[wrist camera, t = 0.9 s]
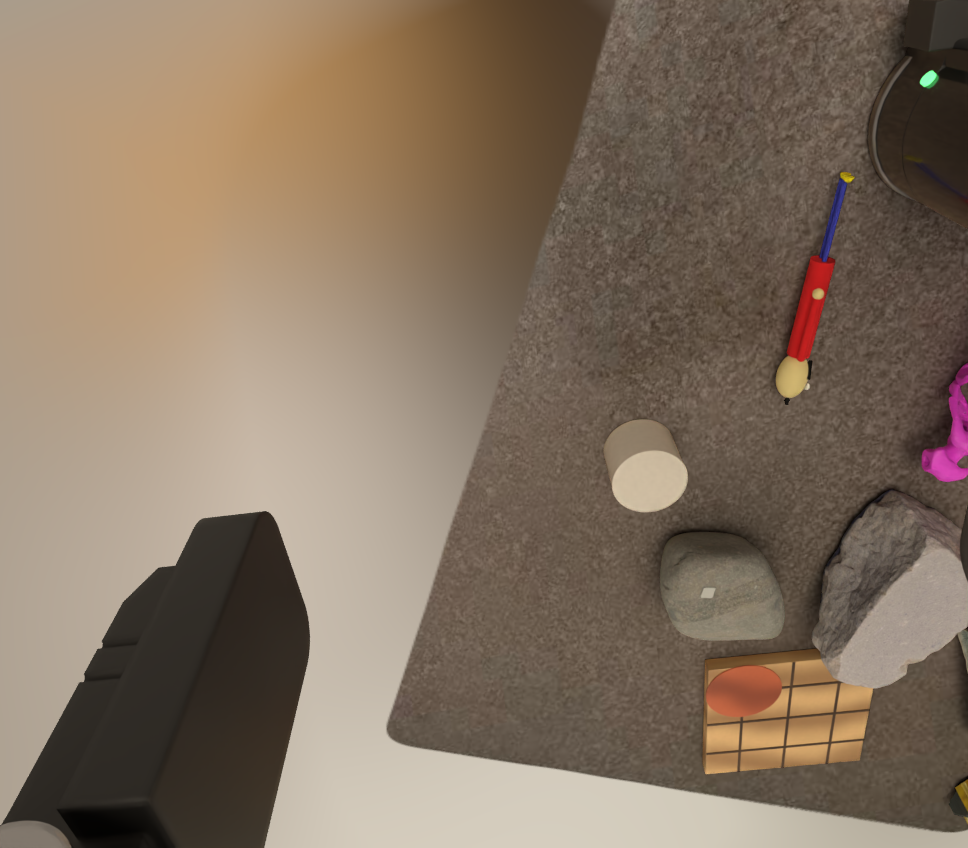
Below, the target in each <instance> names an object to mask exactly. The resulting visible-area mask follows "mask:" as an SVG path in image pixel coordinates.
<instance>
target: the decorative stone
mask: <svg viewBox="0 0 968 848" xmlns="http://www.w3.org/2000/svg"><path fill="white" fill-rule="evenodd" d="M961 533H962V530H961V529H960V528H959V527H958V526H956V525H955V524H954V523H952V522H951V521H949V520H948V519H947V518H945V517H944V516H943V515H941V514H940V513H939V512H937V511H936V510H935V509H934V508H931V507H926V506H924V505H923V504H922V503H921V502H919V501H917V500H916V499H915V498H913V497H912V496H910V495H906V494H905V493H903V492H897V491H895V490H894V489H891V490H888V491H886V492H885V493H883V494H882V495H881V496H880V497H878V498H877V499H876V500H875V501H873V502H871V503H870V504H869V505H868V506H867V507H866V508H865V509H864V510H863V511H862V512H861V513H860V514H859V515H858V516H857V517H856V518H855V519H854V520H853V521H852V524H851V525H850V527H849V528H848V530H847V532H846V533H845V534H844V536H843V538H842V540H841V543H840V545H839V548H838V549H837V551H836V552H835V553H834V555H833V556H832V557H831V559H830V560H829V562H828V563H827V564H826V567H825V569H824V571H823V577H822V578H823V583H822V585H821V587H822V588H821V589H822V594H821V601H820V603H821V605H820V609H819V621H818V622H817V624H816V626H815V628H814V629H813V632H812V642H813V644H814V645H815V647H816V648H817V649H818V650H819V651H820V654H821V660H822V662H823V663H824V665H825V666H826V668H827V669H828V671H829V672H830V674H831V675H832V677H833V678H835V679H837V680H839V681H841V682H843V683H846V684H851V685H854V686H862V687H867V688H879V687H882V686H886V685H889V684H891V683H893V682H894V681H896V680H898V679H900V678H902V677H903V676H904V675H906V674H907V667H908V664H912V663H917V662H920V661H923V660H925V658H926V657H927V656H928V655H929V654H930V653H932V652H935V651H938V650H940V649H941V648H942V647H943V646H945V645H946V644H947V643H948V642H950V641H951V640H952V639H953V638H954V637H955V636H956V635H957V633H959V632H961V631H962V630H963V629H965V628H966V627H968V581H967V579H966V576H965V573H964V571H963V567H962V563H961V557H960V538H961Z"/></svg>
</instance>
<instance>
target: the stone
mask: <svg viewBox="0 0 968 848" xmlns="http://www.w3.org/2000/svg"><path fill="white" fill-rule="evenodd" d="M660 590H661V596H662V599H663V603H664V605H665V608H666V610H667V613H668V615H669V617H670V619H671V621H672V623H673V625H674V626H675V628H676V629H677V630H678V631H680V632H681V633H682V634H684V635H687V636H689V637H692V638H696V639H702V640H750V639H772V638H774V637H776V636H778V635H779V634H780V632H781V631H782V628H783V624H784V619H785V610H784V602H783V597H782V593H781V590H780V587H779V584H778V581H777V579H776V577H775V575H774V573H773V571H772V569H771V567H770V565H769V563H768V562H767V560H766V558H765V557H764V556H763V554H762V553H761V552H760V551H759V550H758V549H757V548H756V547H755V546H754V545H752V544H751V543H750V542H749V541H747V540H746V539H744V538H742V537H739V536H736V535H732V534H727V533H719V532H689V533H684V534H679V535H676V536H674V537H672V538H671V539H670V540H669V541H668V542H667V543H666V545H665V548H664V551H663V555H662V560H661V569H660Z"/></svg>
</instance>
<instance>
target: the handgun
mask: <svg viewBox="0 0 968 848" xmlns="http://www.w3.org/2000/svg"><path fill="white" fill-rule="evenodd" d="M955 789H956V793H955V794H954V796H953V797H952V798H951V800H950V803H949V805H950V807H951V809H952V811H953V813H954V814H955V815H958V816H962V817H964V818H965V820H966V822H967V824H968V780H966V781H964V782H963V783H961V784H960V785H958V786H957V787H955Z"/></svg>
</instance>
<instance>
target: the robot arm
mask: <svg viewBox="0 0 968 848" xmlns="http://www.w3.org/2000/svg"><path fill="white" fill-rule="evenodd" d="M903 46H905V47H908V49H907V52H906V55H905V57H904V58H903V59H902V60H901V61H900V62H899V64H898V65H897V66H896V67H895V68H894V70H893V71H892V72H891V74H890V75H889V76H888V78H887V80H886V81H885V83H884V84H883V86H882V88H881V90H880V92H879V94H878V96H877V98H876V101H875V104H874V106H873V109H872V113H871V117H870V122H869V129H868V146H869V153H870V157H871V160H872V163H873V166H874V168H875V170H876V172H877V173H878V175H879V176H880V178H881V179H882V180H883V181H884V182H885V184H886V185H888V186H889V187H890V188H891V189H893V190H894V191H896V192H897V193H899V194H901V195H903V196H905V197H907V198H909V199H911V200H914V201H917V202H918V203H920V204H922V205H924V206H927V207H929V208H930V209H932V210H934V211H936V212H938V213H940V214H941V215H943V216H945V217H947V218H949V219H950V220H952V221H954V222H956V223H958V224H960V225H961V226H963V227H965V228H967V229H968V0H909V6H908V13H907V21H906V28H905V36H904V43H903ZM960 557H961V563H962V567H963V571H964V573H965V576H966V579H967V581H968V507H967V511H966V516H965V520H964V524H963V529H962V533H961V538H960ZM102 643H103V647H102V649H97V651H96V653H95V655H94V657H93V658H92V660H91V662H90V664H89V666H88V668H87V670H86V671H85V673H84V675H85V680H84V682H80V683H79V684H78V686H77V688H76V690H75V692H74V694H73V695H72V697H71V699H70V701H69V703H68V705H67V706H66V708H65V710H64V712H63V714H62V716H61V718H60V719H59V721H58V723H57V725H56V727H55V728H54V730H53V732H52V734H51V736H50V738H49V739H48V741H47V743H46V745H45V747H44V749H43V751H42V752H41V754H40V756H39V758H38V760H37V762H36V764H35V765H34V767H33V769H32V771H31V773H30V774H29V776H28V778H27V780H26V782H25V784H24V786H23V787H22V789H21V791H20V793H19V795H18V797H17V798H16V800H15V802H14V804H13V806H12V808H11V809H10V811H9V813H8V815H7V817H6V818H5V820H4V821H3V823H2V825H0V848H264V846H265V841H266V837H267V833H268V829H269V824H270V820H271V816H272V812H273V807H274V803H275V799H276V795H277V791H278V786H279V782H280V778H281V773H282V769H283V765H284V761H285V757H286V752H287V748H288V744H289V740H290V735H291V731H292V726H293V722H294V718H295V714H296V710H297V706H298V701H299V696H300V693H301V688H302V684H303V680H304V676H305V672H306V667H307V663H308V658H309V647H310V632H309V621H308V616H307V611H306V607H305V604H304V601H303V598H302V595H301V592H300V589H299V586H298V583H297V580H296V578H295V575H294V572H293V569H292V566H291V563H290V560H289V557H288V555H287V551H286V548H285V546H284V543H283V540H282V537H281V534H280V531H279V528H278V526H277V523H276V521H275V520H274V518H273V516H272V515H271V514H270V513H269V512H266V511H263V512H255V513H247V514H238V515H229V516H220V517H212V518H204V519H201V520H200V521H199V522H198V523H197V524H196V525H195V527H194V529H193V531H192V533H191V535H190V537H189V539H188V541H187V543H186V545H185V548H184V550H183V551H182V553H181V556H180V558H179V560H178V562H177V564H176V566H170V567H161V568H158V569H157V570H156V571H155V572H154V573H153V574H152V575H151V576H150V577H148V579H147V580H145V581H144V582H143V583H142V584H141V585H140V586H139V587H138V588H137V589H136V590H135V591H134V592H133V593H132V594H131V595H130V596H129V597H128V598H127V599H126V600H125V601H124V602H123V604H122V605H121V607H120V609H119V611H118V613H117V615H116V616H115V618H114V620H113V622H112V624H111V626H110V627H109V629H108V631H107V633H106V635H105V636H104V638H103V640H102Z"/></svg>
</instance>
